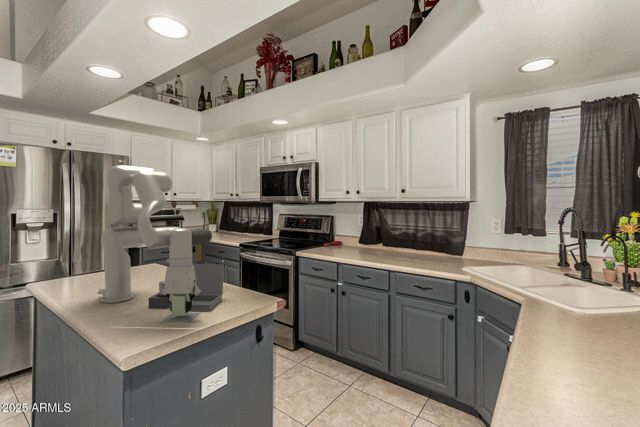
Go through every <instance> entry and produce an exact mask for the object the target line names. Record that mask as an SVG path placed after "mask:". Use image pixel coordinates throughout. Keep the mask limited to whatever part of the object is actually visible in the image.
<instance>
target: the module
mask: <svg viewBox="0 0 640 427" xmlns="http://www.w3.org/2000/svg"><path fill="white" fill-rule="evenodd" d="M186 301H187V299H186V295H185V294H175V295H173V296H172V311H171V314H172V315H181V316H184V315H186V314H187V313H186V310H185V303H186ZM189 312H192V311H191V310H190V311H189Z"/></svg>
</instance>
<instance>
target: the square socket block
mask: <svg viewBox="0 0 640 427" xmlns="http://www.w3.org/2000/svg"><path fill="white" fill-rule="evenodd" d="M170 304H171V301H169V299H168V298H167V297H159V292H157V293H155V294H153V295H151V296H149V297H148V309H170Z"/></svg>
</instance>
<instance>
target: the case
mask: <svg viewBox="0 0 640 427" xmlns="http://www.w3.org/2000/svg"><path fill="white" fill-rule="evenodd" d="M222 301H223V295H200V294H198V295H196V296H195V297H194V298H193V299H192V309H191V311H190V312H211V311H212V310H213V309H214V308H216V307H217V306H218V305H219V304H220V303H221V302H222ZM169 311H170V312H172V311H171V304H170V307H169Z"/></svg>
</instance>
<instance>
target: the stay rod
mask: <svg viewBox="0 0 640 427" xmlns="http://www.w3.org/2000/svg"><path fill="white" fill-rule="evenodd" d="M158 284H159V285H158V286H159V287H158V288H159V289H158V291H159V292H158V293H159V297H166V295H164V294H163V293H162V292H161V291H162V290H163V288H164V287H165V280H163V281H162V280H161V281H159V283H158Z"/></svg>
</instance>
